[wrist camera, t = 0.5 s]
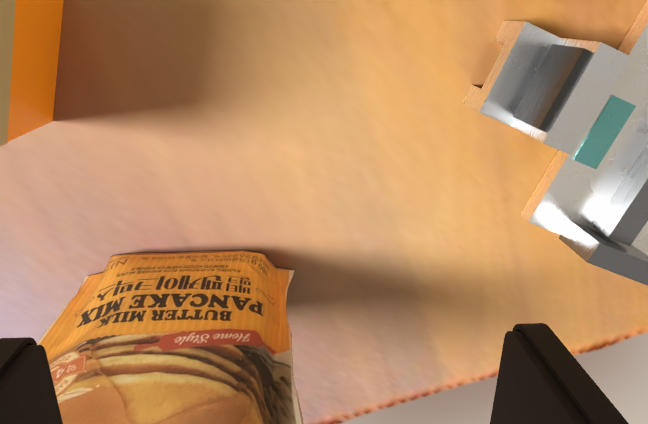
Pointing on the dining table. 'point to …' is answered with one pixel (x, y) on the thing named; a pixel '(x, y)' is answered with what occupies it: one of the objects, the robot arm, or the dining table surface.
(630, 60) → the grey vise fixture
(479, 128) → the dining table surface
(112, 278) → the pancake mix bag
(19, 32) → the orange juice
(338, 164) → the dining table surface
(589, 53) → the notched grey block
